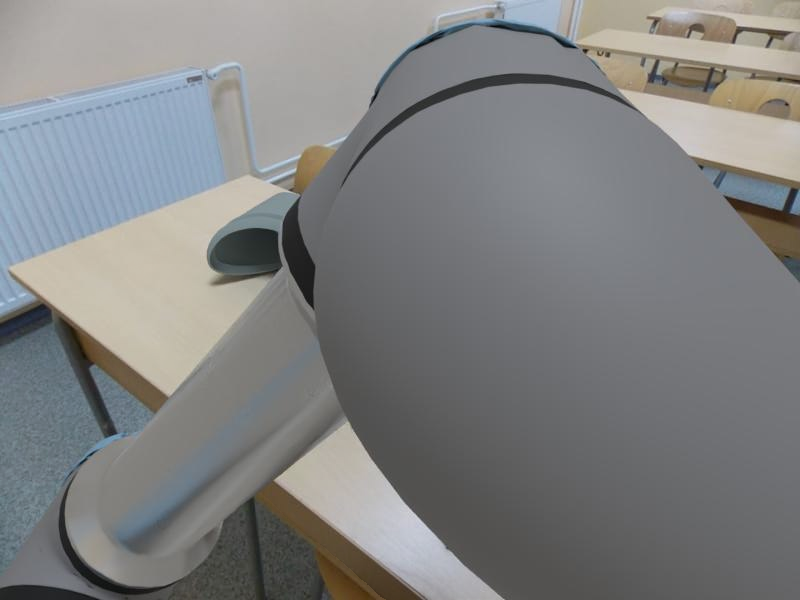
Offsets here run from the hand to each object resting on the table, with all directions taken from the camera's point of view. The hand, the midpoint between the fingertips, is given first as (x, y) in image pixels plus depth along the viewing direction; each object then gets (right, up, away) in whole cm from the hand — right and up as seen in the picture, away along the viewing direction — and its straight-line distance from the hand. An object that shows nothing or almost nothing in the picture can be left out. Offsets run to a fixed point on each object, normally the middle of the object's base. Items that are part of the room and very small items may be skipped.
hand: (540, 348), depth 57 cm
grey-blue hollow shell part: (-37, +10, +43) cm, 57 cm away
